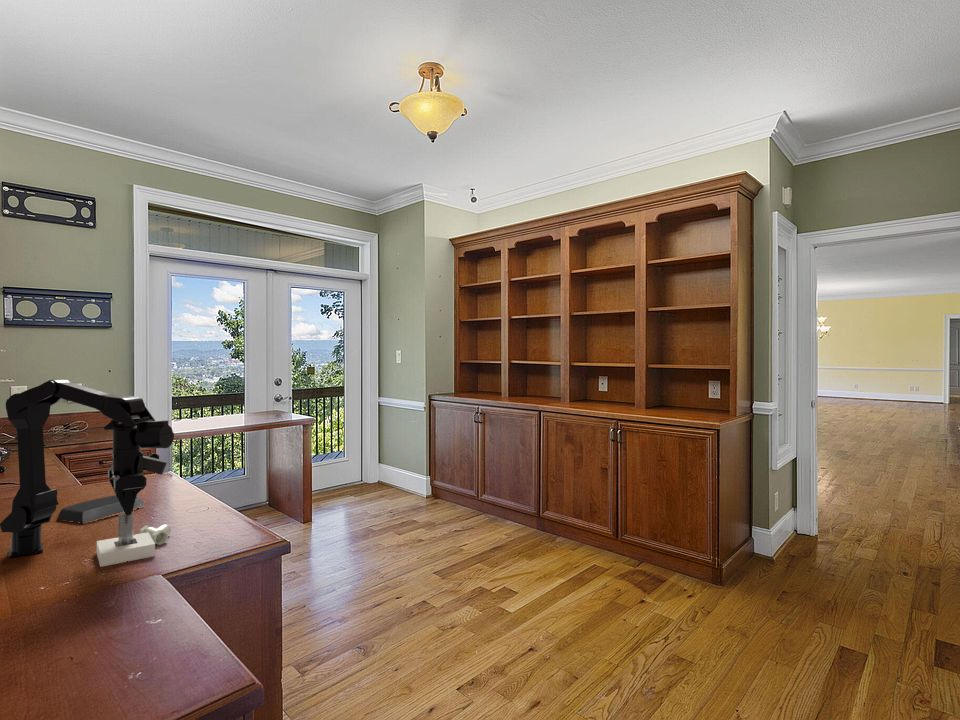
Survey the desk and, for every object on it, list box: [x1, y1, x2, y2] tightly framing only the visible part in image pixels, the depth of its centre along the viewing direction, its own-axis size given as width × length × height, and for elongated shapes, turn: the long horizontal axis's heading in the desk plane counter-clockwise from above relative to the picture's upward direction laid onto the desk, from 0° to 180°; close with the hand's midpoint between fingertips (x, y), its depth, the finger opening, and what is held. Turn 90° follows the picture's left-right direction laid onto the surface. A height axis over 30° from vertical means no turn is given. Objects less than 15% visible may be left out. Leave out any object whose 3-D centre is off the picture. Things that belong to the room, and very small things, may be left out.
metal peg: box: [117, 512, 134, 547], centre depth 131 cm, size 3×3×10 cm
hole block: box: [96, 532, 156, 568], centre depth 131 cm, size 11×11×3 cm
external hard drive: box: [56, 494, 145, 523], centre depth 165 cm, size 13×19×4 cm
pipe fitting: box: [138, 524, 172, 546], centre depth 142 cm, size 8×4×7 cm
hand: (126, 510), depth 131 cm, fingers open, 9 cm apart
